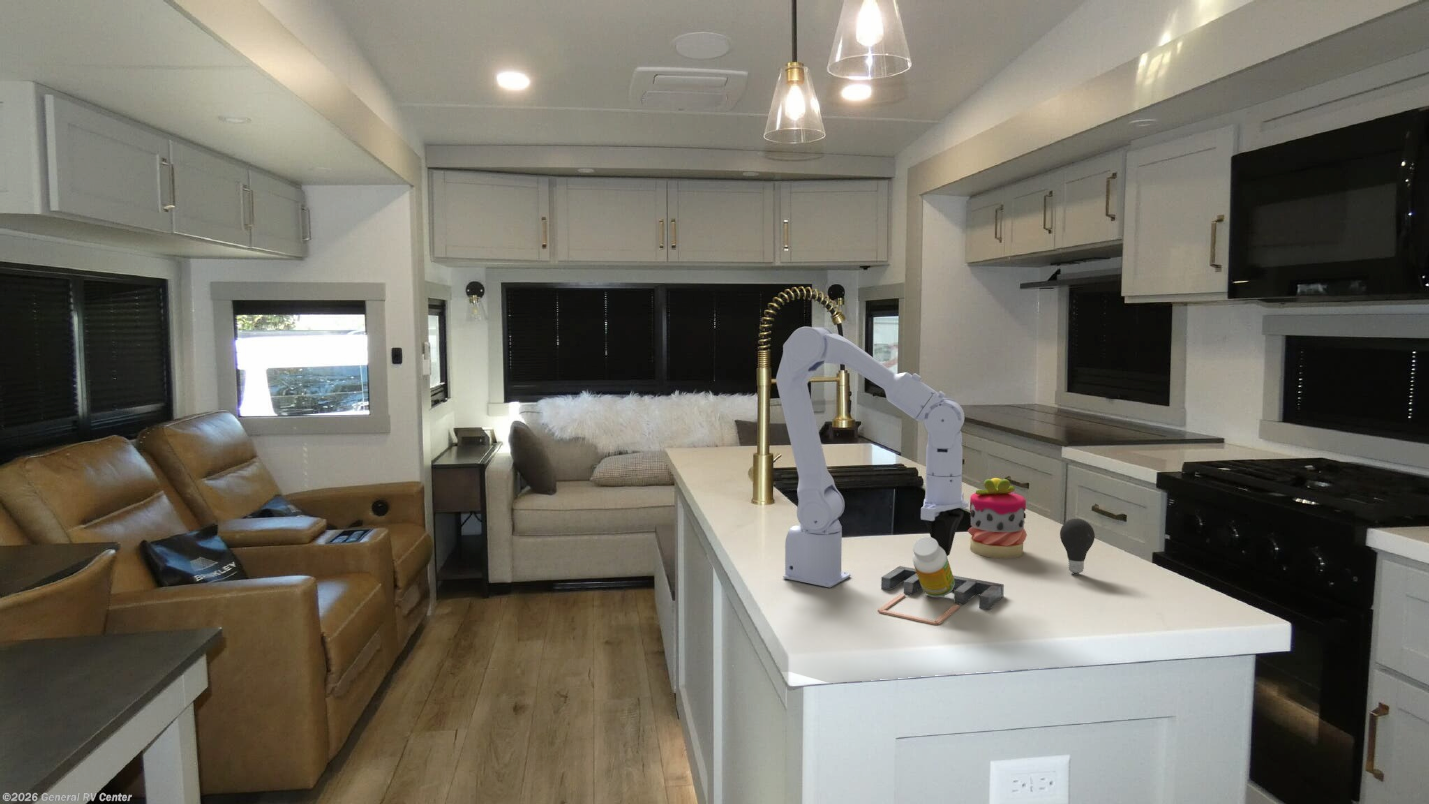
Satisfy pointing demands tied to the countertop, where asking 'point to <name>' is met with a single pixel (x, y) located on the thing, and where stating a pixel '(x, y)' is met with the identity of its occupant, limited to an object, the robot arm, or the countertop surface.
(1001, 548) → the cake
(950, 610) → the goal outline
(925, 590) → the supplement bottle
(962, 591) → the rail
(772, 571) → the countertop surface
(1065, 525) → the light bulb
